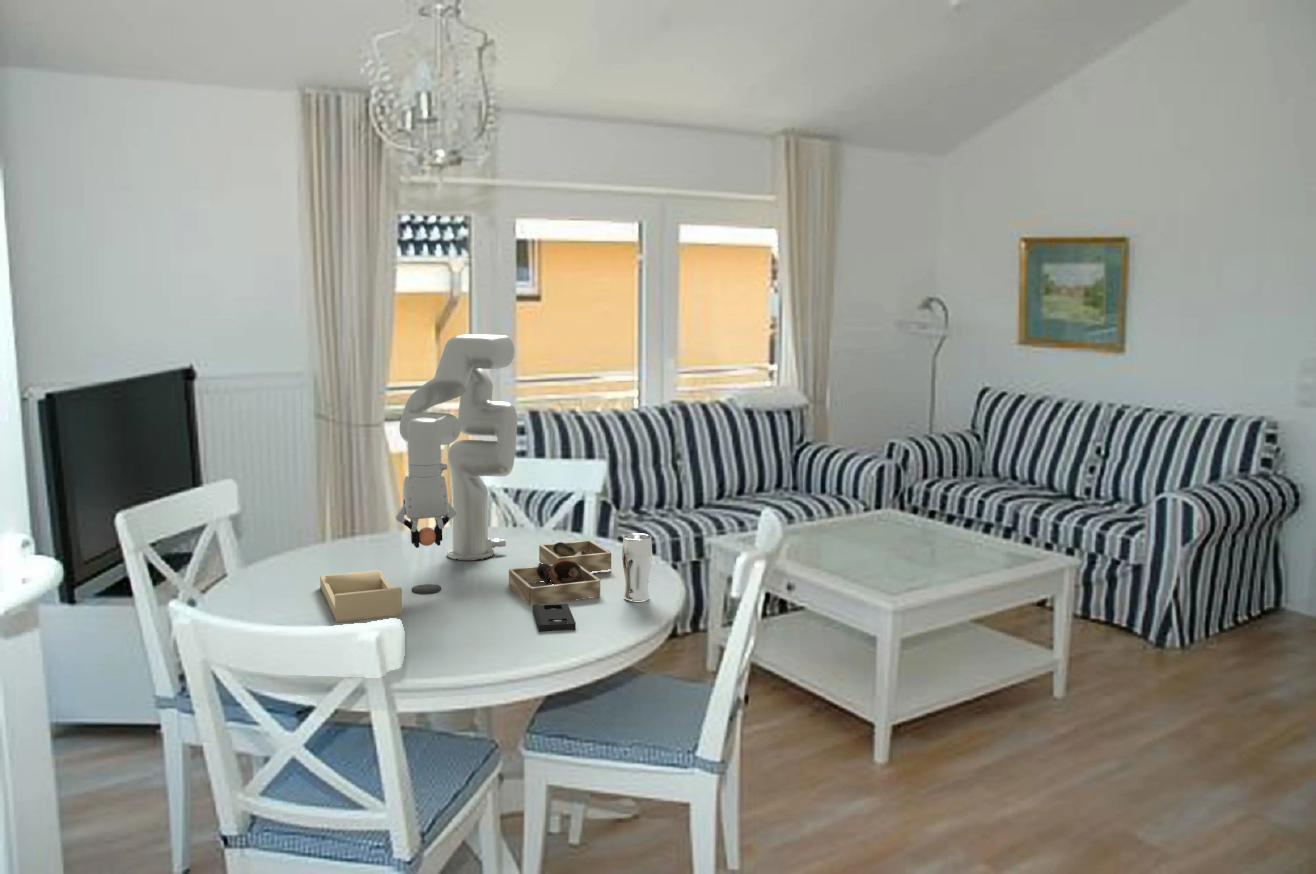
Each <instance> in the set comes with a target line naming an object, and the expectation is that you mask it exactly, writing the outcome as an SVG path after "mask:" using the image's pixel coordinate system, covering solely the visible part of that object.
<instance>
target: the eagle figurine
mask: <svg viewBox="0 0 1316 874" xmlns="http://www.w3.org/2000/svg"><path fill="white" fill-rule="evenodd" d="M564 543H565V542H563V541H562V542H561V541H560V542H559V541H558V542H556V544H555V543H554V544H555V545H554V547H553V549H554V551H555V553H556V554H559V555H561V556H563V557H566V556H577V555H581V552H580V551H579V552H578V553H577V554H575V550H574V549H573V548H572V547H568V546H567V545H565V544H564ZM586 552H587V549H586V550H585V552H584V551H582V555H586Z"/></svg>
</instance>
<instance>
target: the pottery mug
mask: <svg viewBox="0 0 1316 874" xmlns="http://www.w3.org/2000/svg"><path fill="white" fill-rule="evenodd" d="M537 566H538V568H537V570H536V571H537V574H538V575H539V577H540V578H541V579H542V580H543V581H544V582H543V583H545V586H548V585H550V584H551V585H552V584H555V585H557V584H566V583H575V582H581V581H584V578H583V575H582V574H581V573H582V571H581V567H580V566H579V565H578V564H577V563H576V562H574V561H570V560H559V561H557V562H555V563H554V564H553V565H552V566H550V565H548V564H544V563H543V564H540V563H539V565H537ZM574 567H575V568H576V569H577V570H578V574H577V576H575V577H573V576H571V575H569V571H570V569H573V568H574ZM544 572H545V573H544ZM550 580H551V581H550Z"/></svg>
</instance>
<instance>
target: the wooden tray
mask: <svg viewBox="0 0 1316 874" xmlns="http://www.w3.org/2000/svg"><path fill="white" fill-rule="evenodd" d="M556 543H557V542H556ZM556 543H546V544H539V549H538V551H539V552H538V553H539V554H538V555H539V556H538V557H539V559H538V560H539V561H540V562H541V563H544V564H548V565H553V564H554V563H555V562H557V561H559V560H570V561H574V562H576V563H577V564H579V565H580V566H581V567H583V568H584V569H586V570H587V571H589V572H592V571H601V570H608V569H611V570H612V552H611V551H609V550H608V549H606V548H604V547H602V546H601V545H599V544H598V543H596V542H595V541H593V540H590V539H589V540H579V541H578V540H577V541H568V542H567V541H565V542H563V543H564V544H565V545H567V546H568V547H572V548H573V549H574V550H575V554H577V553H578V552H579V551H580V552H581V555H577V556H566V557H563V556H561V555H559V554H556V553H555V551H554V549H553V547H554V545H555V544H556ZM586 549H587V552H586V555H582V551H584V552H585V550H586Z"/></svg>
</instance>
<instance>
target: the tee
mask: <svg viewBox="0 0 1316 874" xmlns="http://www.w3.org/2000/svg"><path fill="white" fill-rule="evenodd" d="M441 591H442V586H441V585H438V584H434V583H433V584H432V583H431V584H430V583H425V584H418V585H415V586H413V587H412V586H411V593H412V594H413V593H414V594H418V595H433V594H436V593H439V592H441Z"/></svg>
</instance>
